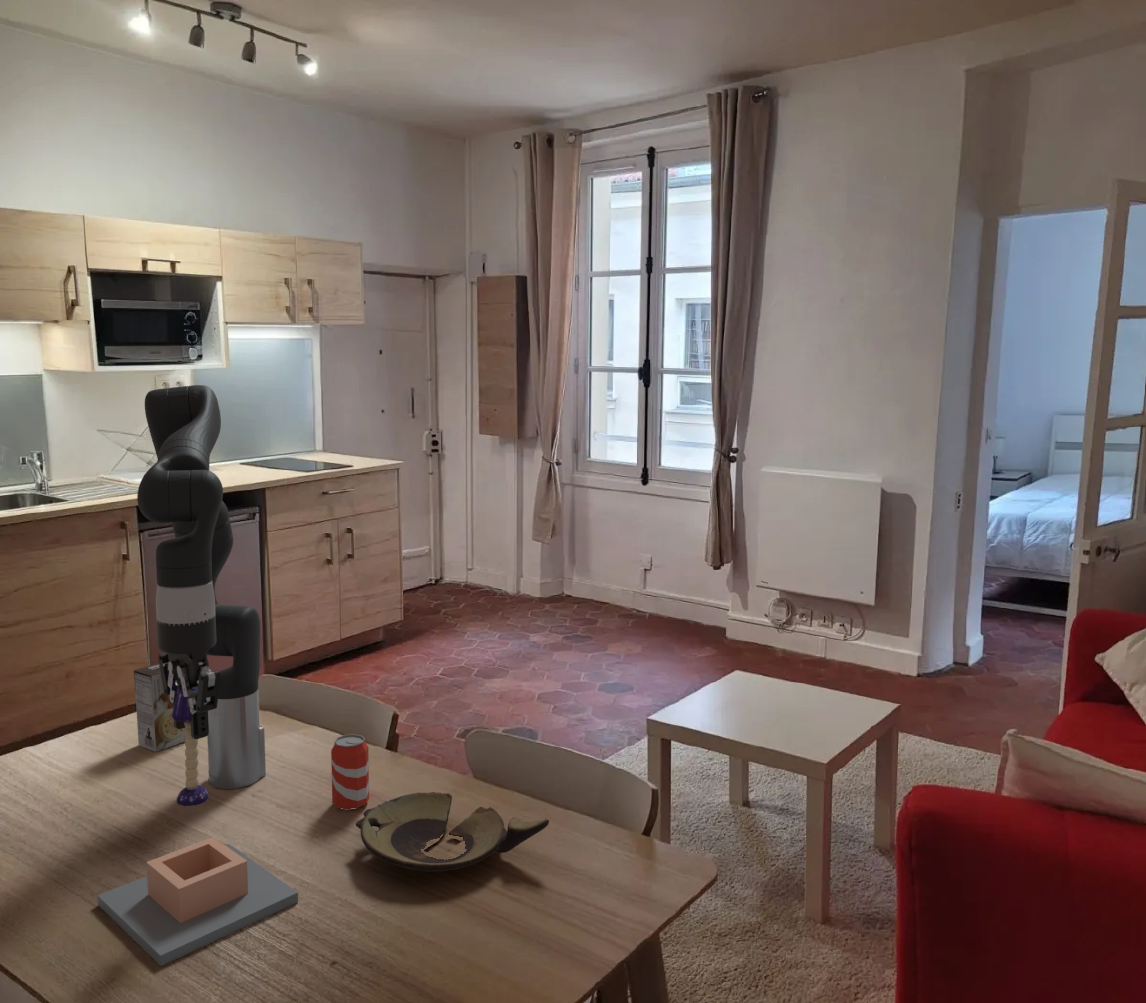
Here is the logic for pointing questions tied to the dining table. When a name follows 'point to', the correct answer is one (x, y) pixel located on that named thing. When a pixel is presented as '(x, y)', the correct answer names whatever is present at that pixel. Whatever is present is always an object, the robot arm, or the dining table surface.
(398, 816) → the broken brown handled bowl
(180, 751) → the dining table surface
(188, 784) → the toy lamp
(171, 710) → the coffee box
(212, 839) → the socket block
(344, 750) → the beverage can
